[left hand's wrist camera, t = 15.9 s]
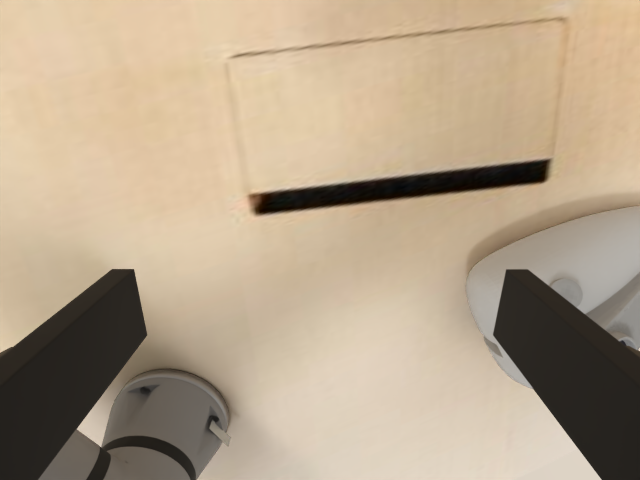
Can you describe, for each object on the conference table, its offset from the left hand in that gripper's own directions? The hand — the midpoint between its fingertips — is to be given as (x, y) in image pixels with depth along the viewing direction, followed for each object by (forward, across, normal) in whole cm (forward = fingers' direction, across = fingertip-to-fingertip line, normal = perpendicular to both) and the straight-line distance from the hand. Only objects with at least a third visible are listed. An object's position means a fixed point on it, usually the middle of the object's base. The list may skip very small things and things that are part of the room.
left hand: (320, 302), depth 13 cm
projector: (+27, -28, +12) cm, 40 cm away
